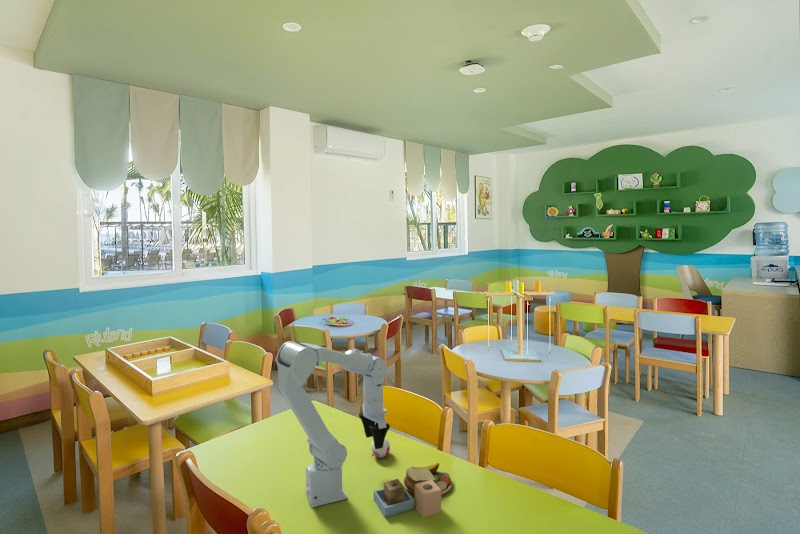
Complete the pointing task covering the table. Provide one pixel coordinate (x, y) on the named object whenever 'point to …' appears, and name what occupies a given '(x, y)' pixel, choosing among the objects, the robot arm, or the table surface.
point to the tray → (395, 508)
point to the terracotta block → (427, 498)
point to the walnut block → (393, 492)
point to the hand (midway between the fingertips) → (374, 442)
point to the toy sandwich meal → (427, 477)
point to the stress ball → (381, 449)
